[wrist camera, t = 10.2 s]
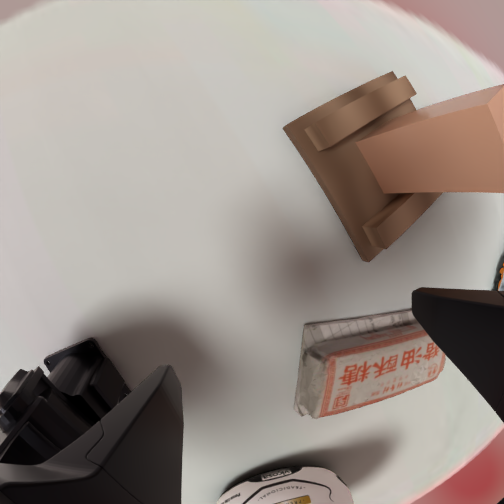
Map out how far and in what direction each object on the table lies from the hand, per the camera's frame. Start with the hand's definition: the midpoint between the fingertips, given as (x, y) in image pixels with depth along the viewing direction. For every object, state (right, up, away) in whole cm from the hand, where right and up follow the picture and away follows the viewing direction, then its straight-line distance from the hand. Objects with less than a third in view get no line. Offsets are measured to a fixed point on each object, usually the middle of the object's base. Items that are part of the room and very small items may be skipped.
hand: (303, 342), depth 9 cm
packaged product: (+11, -8, +17) cm, 22 cm away
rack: (+10, +12, +13) cm, 20 cm away
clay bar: (+10, +11, +12) cm, 20 cm away
